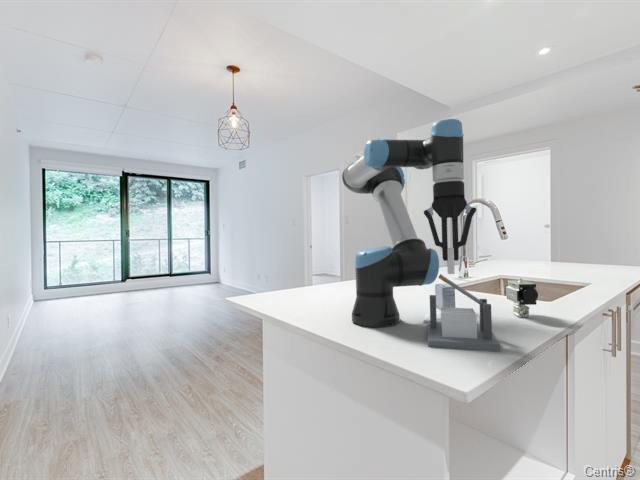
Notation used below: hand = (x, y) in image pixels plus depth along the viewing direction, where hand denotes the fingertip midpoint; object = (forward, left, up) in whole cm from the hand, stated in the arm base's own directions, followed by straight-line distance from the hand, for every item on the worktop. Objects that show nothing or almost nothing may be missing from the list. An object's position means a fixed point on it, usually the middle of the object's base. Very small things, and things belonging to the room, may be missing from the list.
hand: (451, 273), depth 87 cm
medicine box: (0, +33, -18) cm, 38 cm away
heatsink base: (+2, 0, -17) cm, 17 cm away
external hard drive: (-2, +19, -18) cm, 27 cm away
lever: (+2, 0, -5) cm, 6 cm away
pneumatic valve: (+22, +27, -18) cm, 39 cm away
